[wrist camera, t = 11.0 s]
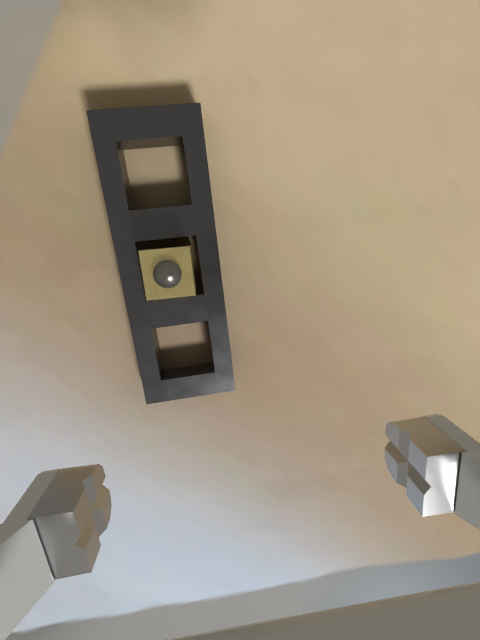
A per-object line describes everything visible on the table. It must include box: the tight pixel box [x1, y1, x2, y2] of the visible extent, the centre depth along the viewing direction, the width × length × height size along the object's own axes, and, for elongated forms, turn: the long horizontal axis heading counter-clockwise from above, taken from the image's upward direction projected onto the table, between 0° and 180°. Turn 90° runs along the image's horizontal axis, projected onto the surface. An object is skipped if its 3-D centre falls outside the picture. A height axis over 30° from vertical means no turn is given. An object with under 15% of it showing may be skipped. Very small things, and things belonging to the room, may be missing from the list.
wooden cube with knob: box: [138, 245, 196, 301], centre depth 28 cm, size 4×4×6 cm
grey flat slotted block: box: [87, 103, 235, 404], centre depth 30 cm, size 9×26×2 cm, turn 6°
